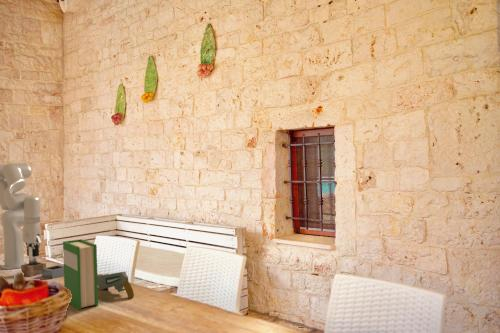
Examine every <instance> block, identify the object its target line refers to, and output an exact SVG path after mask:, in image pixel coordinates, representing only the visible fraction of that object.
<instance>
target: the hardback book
mask: <svg viewBox="0 0 500 333" xmlns="http://www.w3.org/2000/svg"><path fill="white" fill-rule="evenodd" d="M62 248H63V249H62V251H63V252H62V253H63V256H62V257H63V266H64V276H63V286H64V287H66V288H67V289H69V290H70V291H71V294H72V299H71V302H70V304H69V305H71V306H72V307H74V308H75V309H76V310H78V311H82V308H85V307H89V306H90V307H92V306H95V307H99V288H98V280H97V275H98V258H97V257H98V254H97V251H98V250H97V244H96V243H94V242H91V241H90V242H89V241H87V240H84V239H74V240H67V241H63V242H62ZM64 287H63V288H64Z"/></svg>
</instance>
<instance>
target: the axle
mask: <svg viewBox="0 0 500 333" xmlns="http://www.w3.org/2000/svg"><path fill="white" fill-rule="evenodd" d="M32 249H33V246H29V256H28V263H29V265H30V266H33V265H38V262H39V261H38V256H36V257H32Z"/></svg>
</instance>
